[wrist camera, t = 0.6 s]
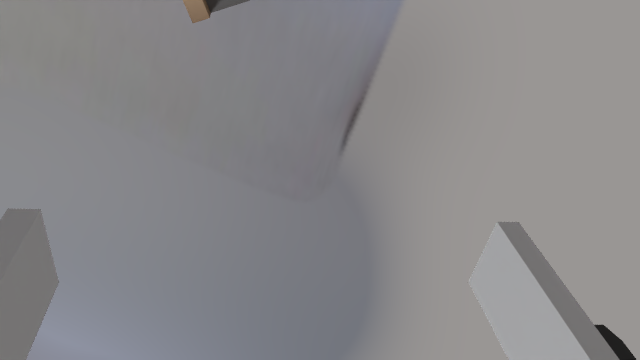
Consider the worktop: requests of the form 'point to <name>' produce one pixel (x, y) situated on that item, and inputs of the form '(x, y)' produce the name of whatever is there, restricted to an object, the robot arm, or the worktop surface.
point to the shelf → (207, 7)
